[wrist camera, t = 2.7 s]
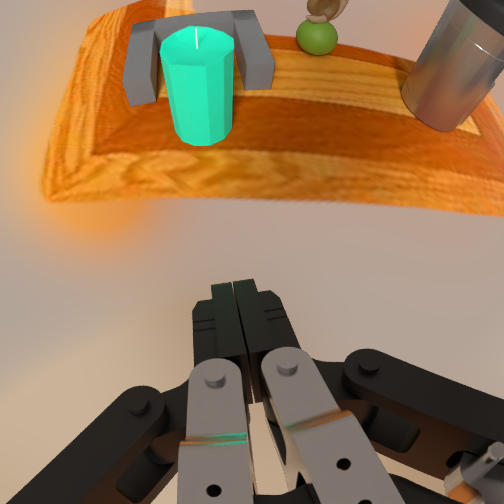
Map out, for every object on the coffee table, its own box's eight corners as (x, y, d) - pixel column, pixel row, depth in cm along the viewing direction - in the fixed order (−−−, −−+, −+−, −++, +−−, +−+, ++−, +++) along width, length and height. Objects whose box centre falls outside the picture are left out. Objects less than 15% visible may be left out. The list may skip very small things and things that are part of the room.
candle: (170, 111, 31) (153, 21, 19) (223, 98, 32) (224, 7, 20) (181, 153, 29) (162, 57, 18) (240, 138, 30) (246, 41, 19)
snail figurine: (345, 58, 36) (370, -10, 24) (308, 66, 35) (328, -11, 23) (322, 38, 37) (340, -28, 26) (285, 44, 36) (298, -29, 25)
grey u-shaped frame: (251, 32, 36) (253, 9, 33) (270, 88, 33) (274, 63, 29) (137, 45, 35) (132, 24, 31) (130, 106, 31) (122, 82, 27)
